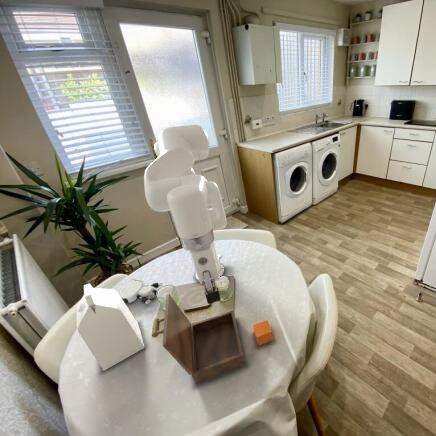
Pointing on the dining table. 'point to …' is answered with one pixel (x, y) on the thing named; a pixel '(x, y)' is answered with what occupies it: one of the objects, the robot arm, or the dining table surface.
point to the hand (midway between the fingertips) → (212, 288)
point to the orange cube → (263, 332)
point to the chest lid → (175, 334)
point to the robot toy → (138, 291)
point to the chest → (215, 347)
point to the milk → (107, 326)
